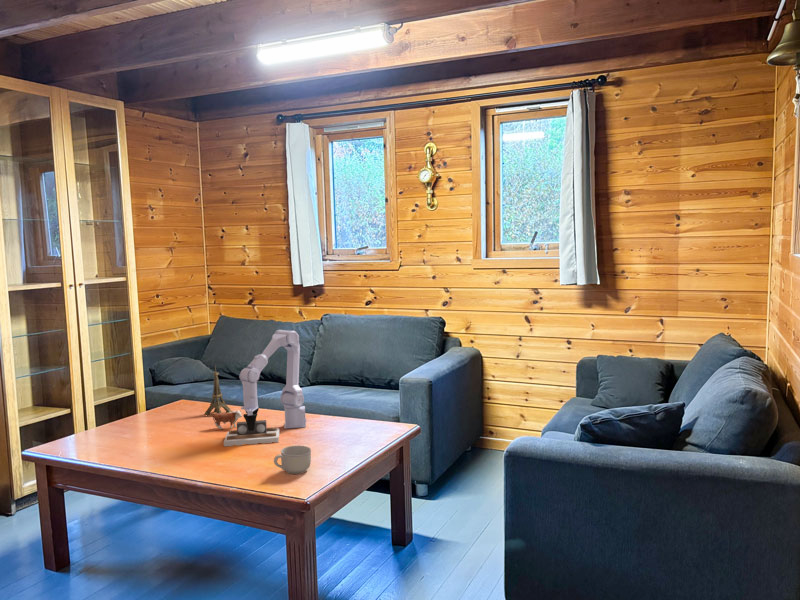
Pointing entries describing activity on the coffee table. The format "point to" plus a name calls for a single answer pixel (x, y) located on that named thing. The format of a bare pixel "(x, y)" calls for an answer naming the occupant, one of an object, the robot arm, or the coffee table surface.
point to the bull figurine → (226, 418)
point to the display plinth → (252, 437)
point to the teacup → (294, 459)
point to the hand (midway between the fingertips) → (252, 428)
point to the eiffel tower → (217, 398)
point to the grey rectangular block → (259, 428)
